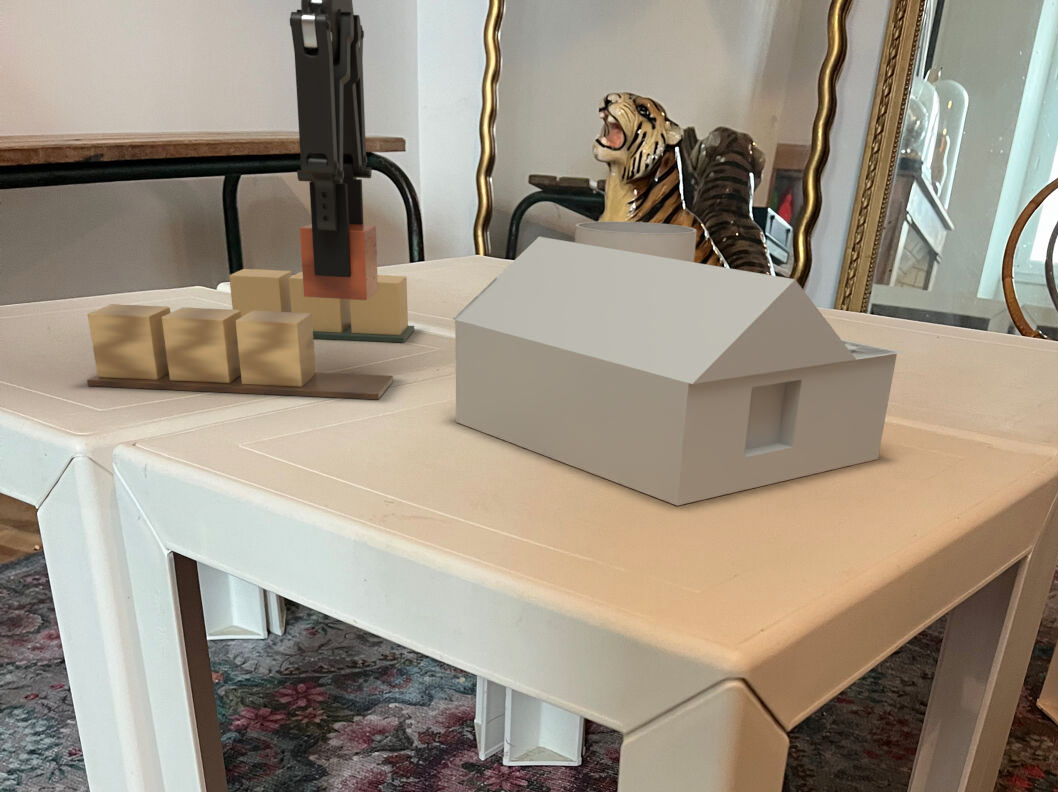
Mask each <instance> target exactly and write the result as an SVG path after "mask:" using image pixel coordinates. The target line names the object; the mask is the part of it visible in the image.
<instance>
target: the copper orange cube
mask: <svg viewBox="0 0 1058 792" xmlns="http://www.w3.org/2000/svg"><path fill="white" fill-rule="evenodd" d="M299 239H300V254H301V255H300V256H301V269H302V271H301V272H303V288H304V296H305V297H319V298H336V299H353V300H367V299H368V298H370V297H371V296H372V295H373V294H375V293H376V292H377V291H378V279H377V275H378V253H377V251H378V249H377V247H378V246H377V226H376V225H375V224H374V225H373V224H363V225H359V224H349V240H350V264H351V277H334V276H317V275H315V272H314V254H313V237H312V222H311V223H309V224H306V225H304V226H301V227H300V228H299Z"/></svg>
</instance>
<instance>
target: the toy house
mask: <svg viewBox="0 0 1058 792" xmlns="http://www.w3.org/2000/svg"><path fill="white" fill-rule="evenodd" d="M452 320H454V327H455V328H454V335H455V337H454V339H455V343H454V344H455V345H454V346H455V348H454V349H455V350H454V351H455V422H456V423H457V424H460V425H463V426H466V427H469V428H471V429H474V430H476V431H479V432H482V433H484V434H487V435H490V436H492V437H495V438H498V439H500V440H502V441H506V442H508V443H511V444H513V445H515V446H519V447H521V448H524V449H526V450H529V451H531V452H534V453H537V454H540V455H542V456H545V457H548V458H550V459H553V460H555V461H558V462H561V463H563V464H566V465H569V466H572V467H573V468H577V469H579V470H582V471H585V472H587V473H590V474H592V475H595V476H598V477H601V478H603V479H606V480H609V481H611V482H613V483H616V484H619V485H622V486H624V487H627V488H630V489H633V490H635V491H638V492H640V493H643V494H645V495H648V496H650V497H654V498H656V499H659V500H661V501H664V502H666V503H669V504H672V505H675V506H681V505H682V506H683V505H685V504H686V505H687V504H691V503H694V502H699V501H704V500H707V499H712V498H716V497H720V496H725V495H729V494H734V493H737V492H738V493H739V492H742V491H746V490H751V489H755V488H759V487H764V486H769V485H772V484H777V483H781V482H785V481H789V480H794V479H798V478H802V477H806V476H811V475H815V474H819V473H820V474H821V473H825V472H828V471H833V470H837V469H841V468H845V467H850V466H855V465H859V464H863V463H867V462H870V461H875V460H879V455H880V451H881V445H882V439H883V434H884V429H885V428H884V427H885V423H886V416H887V411H888V406H889V399H890V394H891V389H892V384H893V378H894V374H895V373H894V372H895V367H896V366H895V365H896V362H897V361H896V360H897V355H898V354H904V353H905V351H901V350H896V349H892V348H887V347H882V346H877V345H872V344H867V343H862V342H857V341H853V340H848V339H844V338H841V337H840V336H839V335H838V333H837V332H836V331H835V330H834V328H833V327H832V326H831V324H830V323H829V322H828V320H827V319H826V318H825V317H824V315H823V314H822V312H821V311H820V310H819V309H818V307H817V306H816V305H815V303H814V302H813V301H812V300H811V298H810V297H809V296H808V294H807V293H806V292H805V290H804V289H803V288H802V286H801V285H800V283H798V281H797V280H796V279H795V278H789V277H783V276H777V275H771V274H765V273H759V272H754V271H753V272H752V271H748V270H742V269H735V268H729V267H723V266H718V265H711V264H705V263H700V262H695V261H694V262H688V261H682V260H676V259H670V258H664V257H658V256H652V255H646V254H640V253H634V252H628V251H622V250H616V249H610V248H604V247H599V246H593V245H587V244H581V243H575V241H569V240H568V241H567V240H561V239H556V238H550V237H545V236H538V237H537V238H536V239H535V240H534V241H533V242H531V244H529V246H527V248H526V249H524V250H523V252H521V254H519V255H518V256H517V257H516V258H515V259H514V260H513V261H512V262H510V263H509V265H508V266H507V267H506V268H505V269H503V270H502V272H500V273H499V274H498V275H497V276H496V277H495V278H494V279H493V280H492V281H491V282H490V283H489V284H488V285H487V286H485V288H483V290H482V291H480V292H479V293H478V294H476V296H475V297H474V298H473V299H472V300H471V301H470V302H469V303H468V304H467V305H466V306H464V308H462V309H461V311H459V312H458V313H457V314H456V315H455V316H454V317H453V318H452Z"/></svg>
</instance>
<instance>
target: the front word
mask: <svg viewBox="0 0 1058 792" xmlns="http://www.w3.org/2000/svg"><path fill="white" fill-rule="evenodd" d="M87 321H88V325H89V331H90V337H91V343H92V350H93V355H94V362H95V363H94V364H95V369H96V375H94V376H91V377H90V378H88V379H87V380H86V382H87V386H88V387H99V388H101V387H102V388H125V389H145V390H164V391H165V390H167V391H191V392H209V393H210V392H211V393H227V394H229V393H231V394H251V395H271V396H272V395H273V396H293V397H294V396H295V397H313V398H315V397H317V398H334V399H335V398H337V399H338V398H340V399H358V400H379V399H381V398H382V396H383V394H384V393H385V392H386V391H387V389H388V388H389V387H390V386H391V385H392V383H393V382H394V375H388V374H387V375H385V374H384V375H383V374H362V373H342V372H322V371H321V372H320V371H319V372H318V371H316V359H315V344H314V343H315V341H314V338H313V328H312V314H311V313H295V312H273V311H251V312H250V313H248V314H246V315H244V316H243V317H241V311H240V310H233V309H227V308H226V309H224V308H206V307H205V308H203V307H185V306H184V307H181V308H178V309H176V310H174V311H172V312H171V306H160V305H142V304H141V305H140V304H118V303H111V304H109V305H105V306H103V307H101V308H99V309H95V310H93V311H91V312H88V313H87Z"/></svg>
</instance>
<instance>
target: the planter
mask: <svg viewBox="0 0 1058 792" xmlns="http://www.w3.org/2000/svg"><path fill="white" fill-rule="evenodd" d="M574 225H575V226H574V227H575V228H574V242H575V243H581V244H587V245H593V246H599V247H604V248H610V249H616V250H622V251H628V252H634V253H640V254H646V255H652V256H658V257H664V258H670V259H676V260H682V261H688V262H694V263H695V256H696V255H695V254H696V244H697V232H698V231H697V229H696V228H693V227H689V226H684V225H679V224H678V225H677V224H670V223H669V224H668V223H657V222H644V221H618V220H617V221H608V220H607V221H605V220H604V221H585V222H579V223H576V224H574Z"/></svg>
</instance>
